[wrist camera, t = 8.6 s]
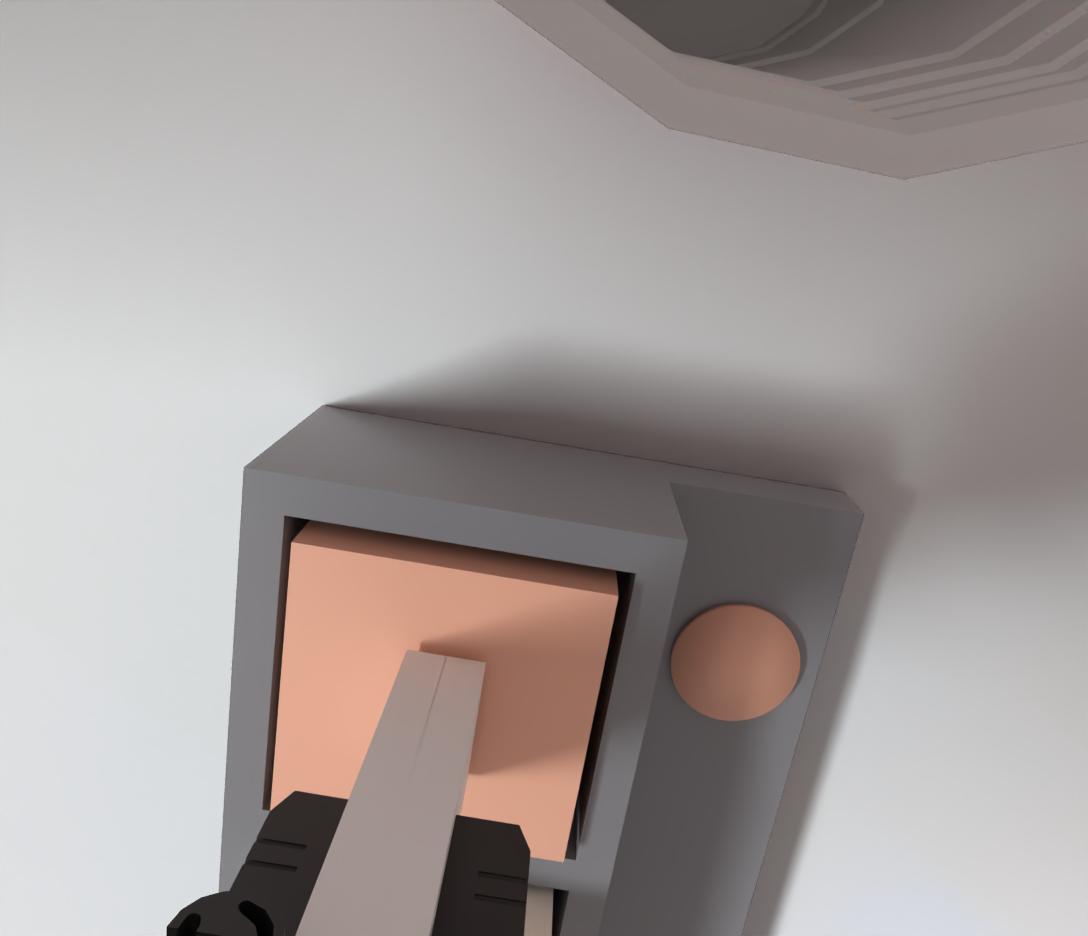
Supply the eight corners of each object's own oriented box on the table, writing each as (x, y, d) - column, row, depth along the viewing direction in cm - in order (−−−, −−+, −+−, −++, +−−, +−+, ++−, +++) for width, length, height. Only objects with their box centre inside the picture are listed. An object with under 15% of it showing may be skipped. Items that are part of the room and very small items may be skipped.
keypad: (262, 1104, 27) (195, 1295, 22) (321, 405, 20) (243, 467, 16) (653, 1166, 27) (669, 1369, 23) (844, 492, 21) (924, 579, 16)
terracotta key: (313, 727, 20) (270, 814, 17) (336, 489, 18) (291, 542, 16) (565, 768, 20) (563, 862, 17) (612, 535, 18) (618, 596, 16)
